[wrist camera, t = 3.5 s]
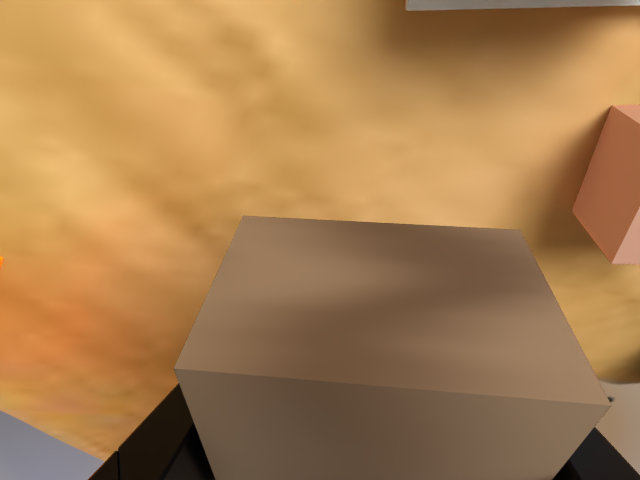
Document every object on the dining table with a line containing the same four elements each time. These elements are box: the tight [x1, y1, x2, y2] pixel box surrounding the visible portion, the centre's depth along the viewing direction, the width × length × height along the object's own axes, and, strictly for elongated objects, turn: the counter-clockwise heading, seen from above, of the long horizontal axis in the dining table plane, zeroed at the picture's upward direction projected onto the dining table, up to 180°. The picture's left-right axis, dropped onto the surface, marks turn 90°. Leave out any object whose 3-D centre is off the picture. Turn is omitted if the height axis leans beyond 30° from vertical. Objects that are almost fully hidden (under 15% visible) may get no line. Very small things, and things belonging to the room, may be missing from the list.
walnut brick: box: [174, 216, 611, 480], centre depth 9 cm, size 6×6×4 cm
